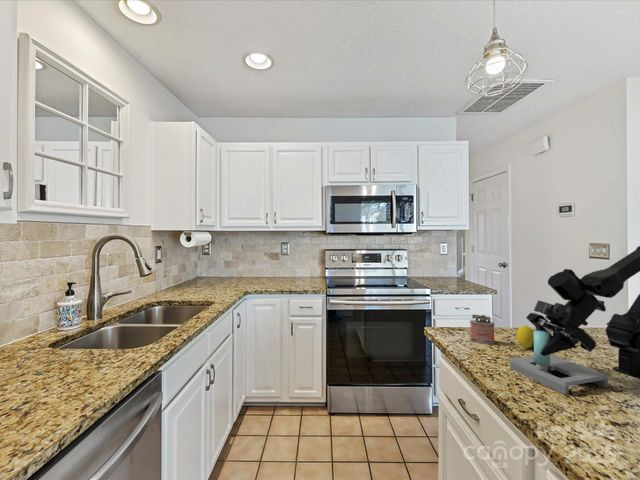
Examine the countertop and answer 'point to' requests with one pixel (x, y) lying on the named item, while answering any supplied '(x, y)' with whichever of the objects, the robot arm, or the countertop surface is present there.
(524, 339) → the lemon
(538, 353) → the peg
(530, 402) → the countertop surface
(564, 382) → the keyhole plate
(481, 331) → the lighter
